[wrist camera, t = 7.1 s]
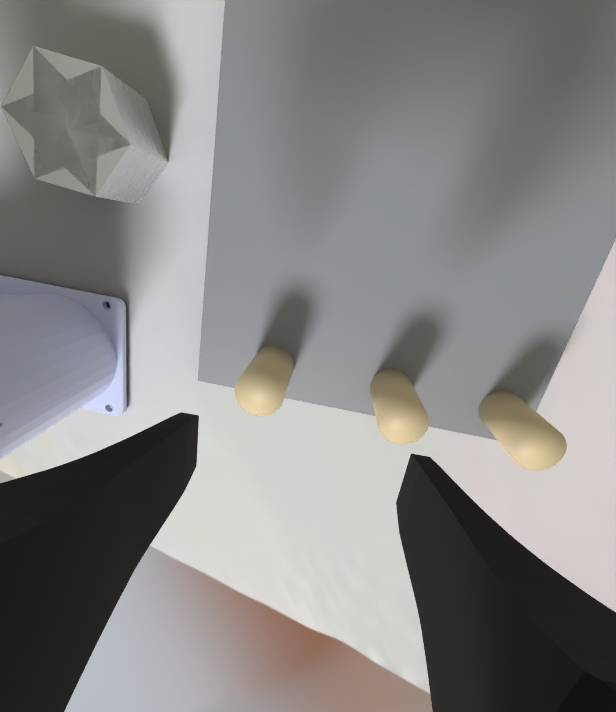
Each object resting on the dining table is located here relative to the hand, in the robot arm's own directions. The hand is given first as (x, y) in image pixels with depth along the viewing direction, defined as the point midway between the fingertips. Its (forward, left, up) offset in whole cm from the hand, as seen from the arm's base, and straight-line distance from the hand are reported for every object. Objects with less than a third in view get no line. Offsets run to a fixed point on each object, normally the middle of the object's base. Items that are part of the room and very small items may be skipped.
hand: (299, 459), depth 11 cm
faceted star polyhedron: (-13, +10, -10) cm, 19 cm away
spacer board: (+3, +10, -10) cm, 14 cm away
